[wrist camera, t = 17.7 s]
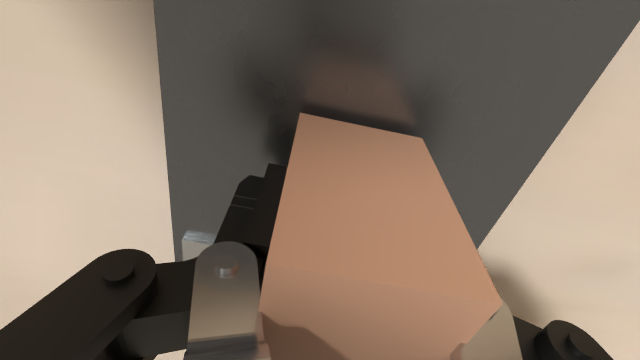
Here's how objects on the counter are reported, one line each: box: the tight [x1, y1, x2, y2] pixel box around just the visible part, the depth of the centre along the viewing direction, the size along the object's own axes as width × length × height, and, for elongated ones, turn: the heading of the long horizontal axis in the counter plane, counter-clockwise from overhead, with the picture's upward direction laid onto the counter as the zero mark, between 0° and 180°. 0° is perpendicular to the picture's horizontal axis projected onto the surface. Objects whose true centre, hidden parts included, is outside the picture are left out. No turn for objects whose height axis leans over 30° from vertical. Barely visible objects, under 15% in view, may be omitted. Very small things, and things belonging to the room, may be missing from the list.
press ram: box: [258, 113, 503, 360], centre depth 9 cm, size 5×4×6 cm
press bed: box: [154, 0, 640, 262], centre depth 13 cm, size 24×13×2 cm, turn 168°
